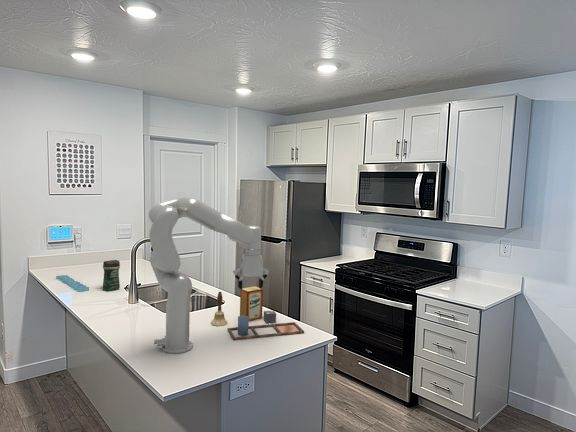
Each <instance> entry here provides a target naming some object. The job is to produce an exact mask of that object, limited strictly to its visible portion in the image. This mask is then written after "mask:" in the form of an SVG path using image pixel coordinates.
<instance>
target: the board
mask: <svg viewBox="0 0 576 432" xmlns="http://www.w3.org/2000/svg"><path fill="white" fill-rule="evenodd" d="M264 328H265V329H266V328H272V329H274V331H275V332H276V333H275V332H274V333H266V334H265V333H264V334H259V333H258V332H257V330H256V329H264ZM249 330H251V332H252V333H253V334H254V335H247V336H235V335H234V333H233V332H234V331H238V326H236V327H227V333H229V336H230V337H231V340H232V341H243V340H252V339H261V338H262V339H263V338H271V337H280V336H282V337H283V336H292V335H301V334H302V335H303V334H305V330H304V329H302V327H300V325H298V323H296V322H295V321H293V322H282V323H281V322H280V323H270V324H260V325H259V324H258V325H249ZM232 331H233V332H232Z"/></svg>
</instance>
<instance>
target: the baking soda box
mask: <svg viewBox="0 0 576 432" xmlns="http://www.w3.org/2000/svg"><path fill="white" fill-rule="evenodd" d="M239 290H240V289H239ZM263 294H264V288H262V289H260V288H259V286H256V285H255V286H249V287H244V288H243V287H242V290H240V294H239V295H240V297H239V316H242V315H245V316H248V317H249V322H253V321H258V320H261V319H262V320H263V304H264V303H263V300H264V298H263V297H264V295H263Z"/></svg>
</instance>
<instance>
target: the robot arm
mask: <svg viewBox="0 0 576 432" xmlns="http://www.w3.org/2000/svg"><path fill="white" fill-rule="evenodd" d="M148 218H149V221H150V222H151V223H152V224H151V227H150V229H149V241H150V245H151V249H152V252H151V254H150V257H149V260H150V261H149V263H150V266H151V268H152V270H153V273H154V276H155V277H156V280H157V282H158V285H159V286H160V288H161V289H163V290H164V291H165V292H167V299H166V302H165V335H164V337H162V338H161V339H160V338H159V339H158V338H156V339H154V340H153V344H154V345H157V346H161V350H162V351H163V352H165V353H169V354H182V353H186V352H188V351H191V350H192V349H193V348H194V343H193V342H192V341H191V340H190V323H191V322H190V320H191V319H190V318H191V317H190V316H191V315H190V313H191V311H190V310H191V308H190V307H191V296H192V290H193V283H192V280H191V278H190V277H189V276H188V275H186V274H185V273H183V272H180V271H178V270H179V269H180V268H181V264H182V260H181V257H180V255H179V251H178V249H177V247H176V244H175V242H174V239H173V229H174V228H175V226H176V225H177V223H178V220H179V219H181V218H187V219H189V220H191V221H193V222H195V223H197V224H199V225H201V226H202V227H205V228H206V229H209V230H211V231H212V232H216V233H220V234H223V235H225V236H227V238H228V239H229V240H230V241H232V242H235V243H240V244H243V245H244V248H243V249H241V250H240V253H242V255H241V256H242V257H241V260H240V267H238V268H237V269H236V268H235V269H234V270H233V271H232V273H233V275H234V277H235V278H236V279H237V280H238V281H237V288H238V289H239V290H242V288H243V279H244V278H259V280H258V287H259V288H260V289H263V287H264V281H265V279H266V278H267V277H268V275H269V273H270V270H268V269H267V268H265V267H264V263H263V256H262V255H261V246H262V245H261V243H262V228H261V227H260V226H257V225H247V224H244V223H242V222H241V221H239V220H237V219H236V218H235V219H234V218H233V217H230V216H228V215H226V214H225V213H222V212H220V211H218V210H216V209H215V208H214V207H212V206H209V205H208V204H206V203H204V202H202V201H200V200H199V199H196V198H194V197H185V196H183V197H179V198H176V199H172V200H169V201H165V202H162V203H161V202H160V203H158V204H157V203H156V204H155V205H153V206H152V207H151V208H150V209H149V212H148ZM238 273H239V274H240V275H238Z"/></svg>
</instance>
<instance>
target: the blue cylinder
mask: <svg viewBox="0 0 576 432" xmlns="http://www.w3.org/2000/svg"><path fill="white" fill-rule="evenodd" d="M249 324H250V321H249V317H248V316H245V315H242V316H240V315H238V316H237V327H238V330H237V335H238V337H243V336H249V330H250V329H249V326H250V325H249Z"/></svg>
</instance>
